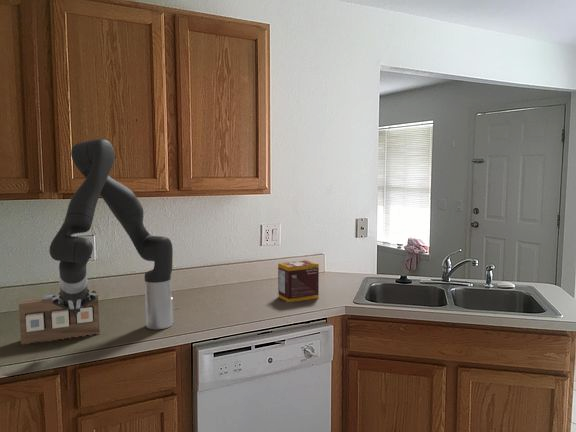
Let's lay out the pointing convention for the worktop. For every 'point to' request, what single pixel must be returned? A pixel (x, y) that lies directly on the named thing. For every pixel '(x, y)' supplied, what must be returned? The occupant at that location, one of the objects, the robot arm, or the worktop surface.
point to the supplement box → (298, 281)
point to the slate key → (35, 321)
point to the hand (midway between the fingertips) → (75, 311)
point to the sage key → (60, 318)
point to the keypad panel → (51, 333)
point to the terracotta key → (85, 314)
